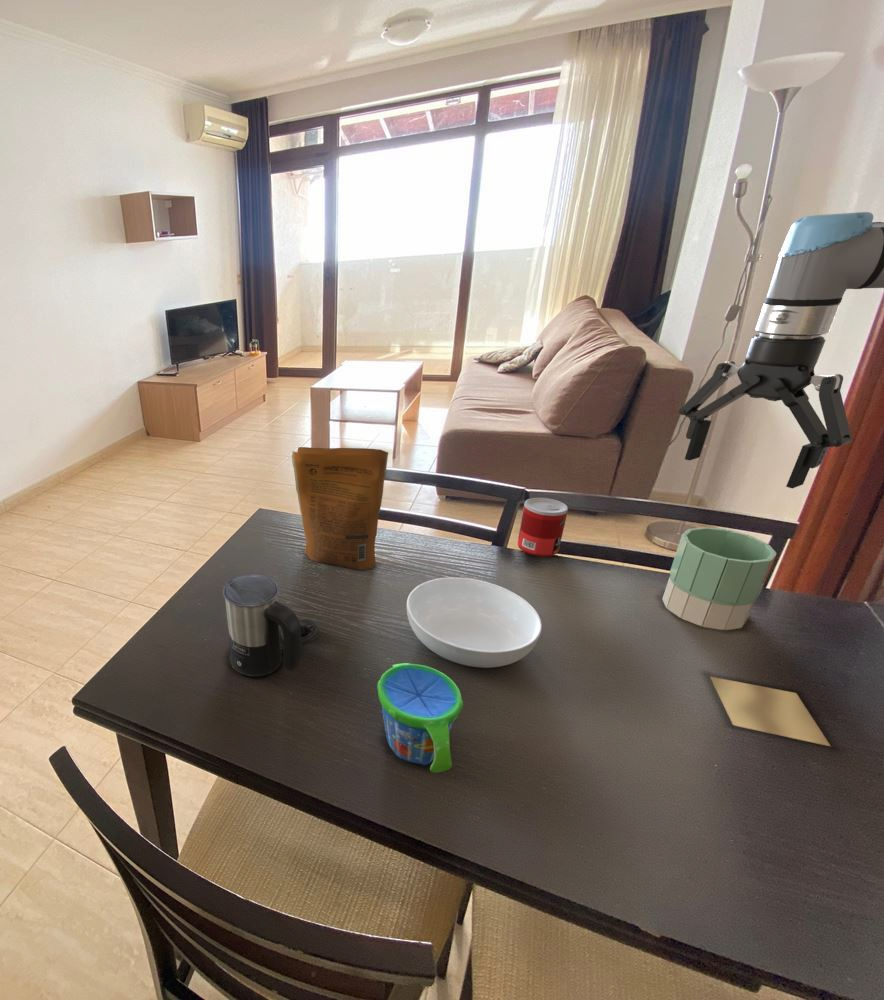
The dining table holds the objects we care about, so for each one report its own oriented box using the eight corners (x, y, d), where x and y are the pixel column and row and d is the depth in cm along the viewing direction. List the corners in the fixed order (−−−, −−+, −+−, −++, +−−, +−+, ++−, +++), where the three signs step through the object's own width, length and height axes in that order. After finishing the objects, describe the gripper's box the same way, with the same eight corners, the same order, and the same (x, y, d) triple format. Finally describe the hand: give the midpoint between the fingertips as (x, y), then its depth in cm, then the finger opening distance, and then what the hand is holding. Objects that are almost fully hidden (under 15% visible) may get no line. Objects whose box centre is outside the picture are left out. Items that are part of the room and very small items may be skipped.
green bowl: (736, 587, 98) (758, 532, 93) (762, 626, 88) (788, 567, 83) (657, 576, 102) (675, 523, 98) (674, 612, 93) (694, 555, 88)
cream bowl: (731, 599, 99) (741, 574, 96) (755, 637, 90) (767, 610, 87) (656, 588, 103) (663, 564, 101) (671, 623, 94) (680, 597, 92)
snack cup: (364, 703, 84) (366, 652, 79) (432, 700, 83) (439, 649, 79) (390, 795, 69) (395, 739, 65) (473, 793, 69) (484, 736, 65)
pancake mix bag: (378, 578, 113) (385, 454, 101) (292, 562, 122) (290, 445, 110) (384, 562, 119) (392, 443, 107) (302, 547, 127) (301, 435, 115)
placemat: (795, 694, 79) (796, 692, 78) (830, 749, 71) (831, 746, 70) (708, 678, 83) (709, 676, 82) (731, 727, 75) (732, 725, 74)
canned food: (561, 560, 114) (572, 514, 109) (519, 556, 117) (527, 511, 112) (554, 542, 121) (563, 498, 116) (514, 539, 123) (522, 496, 119)
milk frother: (220, 670, 93) (213, 599, 86) (253, 615, 105) (249, 551, 99) (300, 691, 87) (298, 617, 80) (325, 631, 100) (325, 563, 93)
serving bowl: (565, 666, 87) (573, 632, 84) (455, 700, 83) (460, 666, 80) (475, 596, 105) (480, 566, 103) (381, 621, 101) (383, 591, 98)
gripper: (676, 329, 87) (642, 453, 96) (902, 349, 65) (831, 505, 74) (706, 323, 89) (670, 444, 98) (933, 341, 68) (861, 493, 77)
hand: (739, 471), depth 86 cm, fingers open, 13 cm apart
